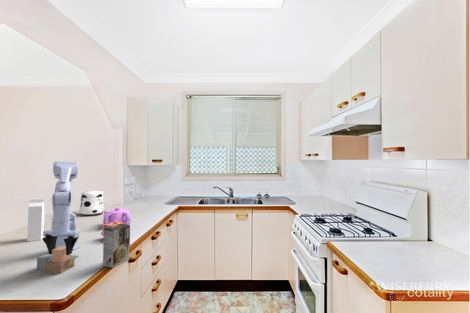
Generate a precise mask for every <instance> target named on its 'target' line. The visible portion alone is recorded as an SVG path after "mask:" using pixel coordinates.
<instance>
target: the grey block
mask: <svg viewBox="0 0 470 313" xmlns="http://www.w3.org/2000/svg"><path fill="white" fill-rule="evenodd" d="M51 260H52V254H49V253H45V254H43V255H40V256H37V257H36V271H45V263H47V262H49V261H51Z"/></svg>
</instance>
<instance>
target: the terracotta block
mask: <svg viewBox="0 0 470 313" xmlns="http://www.w3.org/2000/svg"><path fill="white" fill-rule="evenodd" d="M67 259H69V255H66V247H64V246H60V247H57V248H55V249H53V250H52V262H57V263H61V262H63V261H65V260H67Z"/></svg>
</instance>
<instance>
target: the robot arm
mask: <svg viewBox="0 0 470 313" xmlns="http://www.w3.org/2000/svg"><path fill="white" fill-rule="evenodd" d="M78 171H79V163H78V161H57V160H55V161H54V162H53V168H52V172H53V176H54V178H55V179H58V181H56V183H55V188H54V193H52V195H51V196H52V198H51V205H52V211H53V212H52V213H53V214H52V219H51V220H52V221H51V228H50V229H45V230H44V231H43V238H42V241H43V243H44V244H45V246H46V248H47V251H48V254H52V250H53V249H55V248H57V247H60V246H64V247H66V255H73V254H72V253H73V251H74V250H76V249H78V248H79V247H80V246H78V240H79V237H80V231H76V230H77V216H76V214H75V213H73V212H72V211H71V205H72V202H73V193H72V182H73V180H74V179H76V178H77V177H78Z"/></svg>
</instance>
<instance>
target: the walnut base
mask: <svg viewBox="0 0 470 313" xmlns="http://www.w3.org/2000/svg"><path fill="white" fill-rule="evenodd" d="M75 259H76V258H73V257H69V259H67V260H65V261H63V262H61V263H57V262H52V260H51V261H49V262H47V263H45V270H44V273H47V274H48V273H49V274H50V273H51V274H63V273H65V272H66V271H68V270H70V269H72V268H73V267H75Z"/></svg>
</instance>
